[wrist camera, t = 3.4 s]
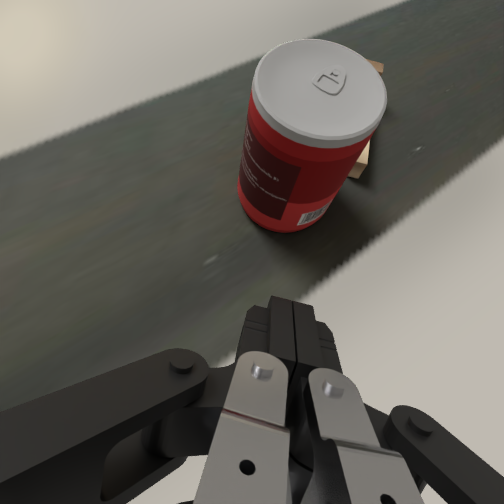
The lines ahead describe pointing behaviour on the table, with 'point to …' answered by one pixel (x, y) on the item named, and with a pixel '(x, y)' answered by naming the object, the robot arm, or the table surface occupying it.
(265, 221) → the canned food
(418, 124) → the table surface
